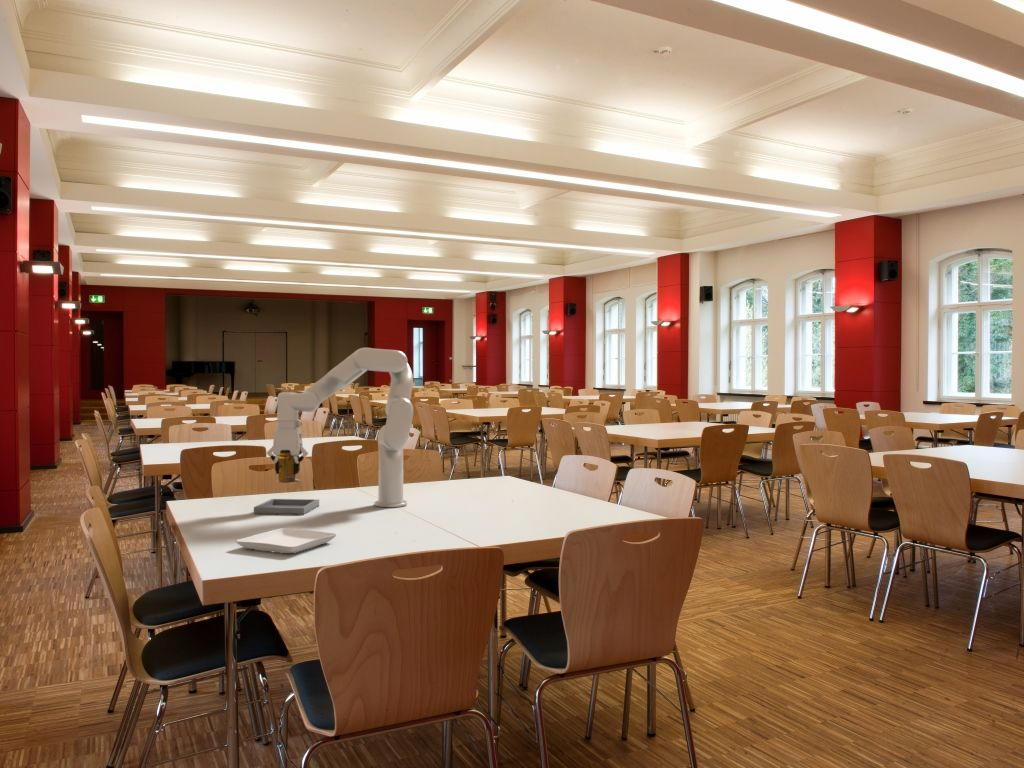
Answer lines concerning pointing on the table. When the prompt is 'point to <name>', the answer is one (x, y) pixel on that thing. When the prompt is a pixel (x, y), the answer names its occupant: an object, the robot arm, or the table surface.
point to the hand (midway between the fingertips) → (287, 473)
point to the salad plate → (286, 540)
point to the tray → (286, 506)
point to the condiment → (286, 467)
